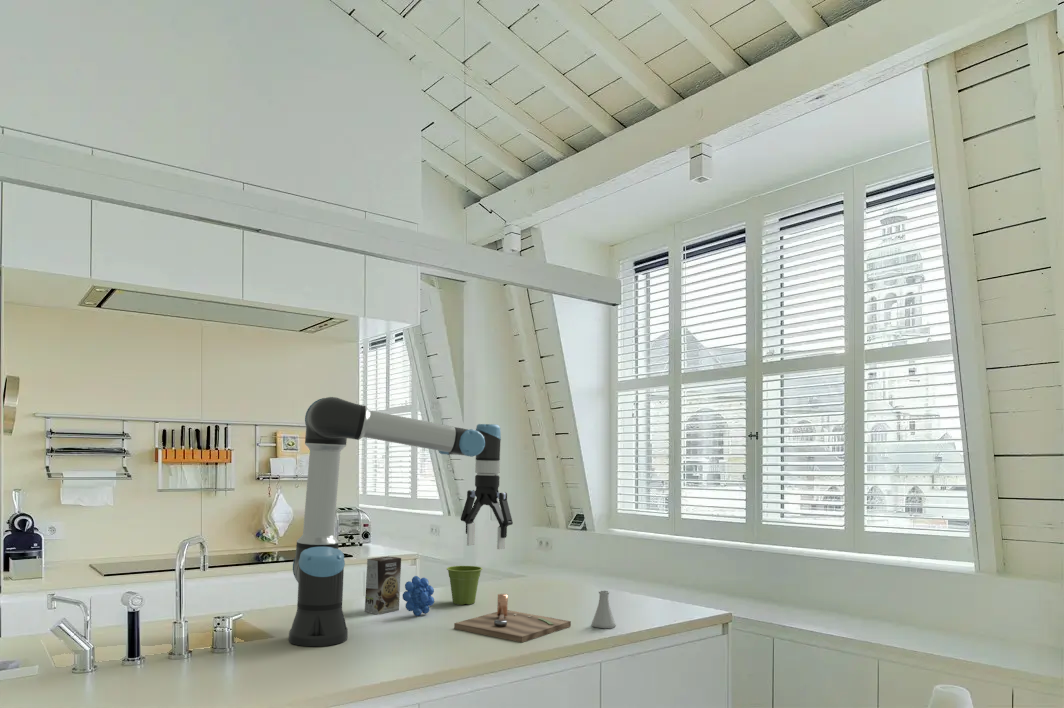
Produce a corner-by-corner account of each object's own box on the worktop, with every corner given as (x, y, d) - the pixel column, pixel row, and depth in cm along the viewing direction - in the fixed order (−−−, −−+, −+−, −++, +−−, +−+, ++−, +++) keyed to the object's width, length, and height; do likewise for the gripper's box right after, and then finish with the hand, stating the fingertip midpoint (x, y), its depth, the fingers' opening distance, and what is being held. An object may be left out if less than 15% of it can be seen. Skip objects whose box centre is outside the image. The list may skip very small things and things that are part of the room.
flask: (614, 629, 235) (615, 594, 236) (589, 628, 236) (590, 592, 237) (617, 624, 242) (617, 589, 243) (592, 622, 243) (593, 588, 244)
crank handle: (506, 626, 228) (507, 603, 229) (493, 625, 228) (494, 603, 229) (508, 614, 243) (509, 593, 244) (496, 614, 243) (497, 593, 244)
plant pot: (484, 600, 273) (485, 565, 274) (478, 607, 261) (479, 571, 262) (449, 598, 274) (450, 564, 275) (442, 605, 262) (443, 570, 263)
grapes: (410, 621, 240) (412, 579, 241) (397, 617, 245) (398, 576, 246) (441, 615, 248) (443, 575, 249) (428, 611, 253) (429, 572, 254)
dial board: (522, 642, 218) (522, 635, 218) (454, 628, 232) (454, 622, 232) (570, 626, 238) (570, 620, 238) (505, 614, 251) (505, 608, 252)
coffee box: (378, 614, 247) (380, 560, 249) (363, 611, 251) (366, 558, 253) (400, 610, 255) (402, 557, 256) (386, 607, 258) (388, 555, 260)
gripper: (525, 475, 247) (523, 549, 245) (465, 472, 260) (463, 542, 258) (510, 476, 241) (508, 552, 239) (450, 473, 254) (448, 544, 252)
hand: (485, 546), depth 248 cm, fingers open, 11 cm apart
